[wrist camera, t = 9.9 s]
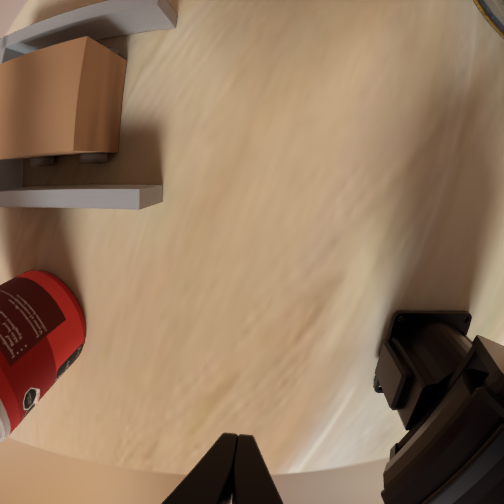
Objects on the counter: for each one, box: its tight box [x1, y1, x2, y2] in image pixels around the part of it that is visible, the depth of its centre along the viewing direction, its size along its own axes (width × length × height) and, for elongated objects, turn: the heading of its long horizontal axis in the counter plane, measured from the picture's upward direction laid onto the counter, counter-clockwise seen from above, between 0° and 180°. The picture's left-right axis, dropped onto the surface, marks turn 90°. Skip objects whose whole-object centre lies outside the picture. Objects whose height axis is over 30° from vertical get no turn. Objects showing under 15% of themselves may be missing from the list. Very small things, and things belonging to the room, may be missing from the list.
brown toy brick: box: [0, 36, 127, 167], centre depth 15 cm, size 7×7×5 cm
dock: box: [0, 0, 177, 210], centre depth 16 cm, size 12×12×4 cm
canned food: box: [0, 271, 86, 442], centre depth 16 cm, size 8×8×11 cm
